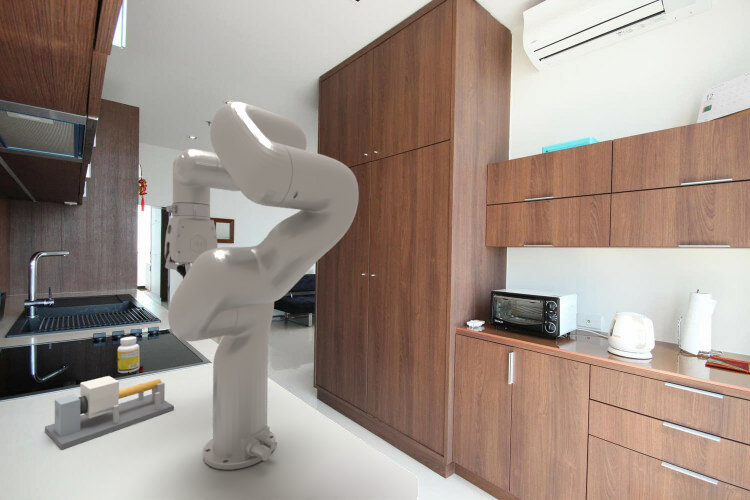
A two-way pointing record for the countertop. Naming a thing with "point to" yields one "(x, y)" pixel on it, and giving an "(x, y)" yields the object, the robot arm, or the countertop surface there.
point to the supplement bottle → (128, 355)
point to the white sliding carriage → (100, 395)
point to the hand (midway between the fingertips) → (191, 293)
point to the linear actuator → (105, 414)
